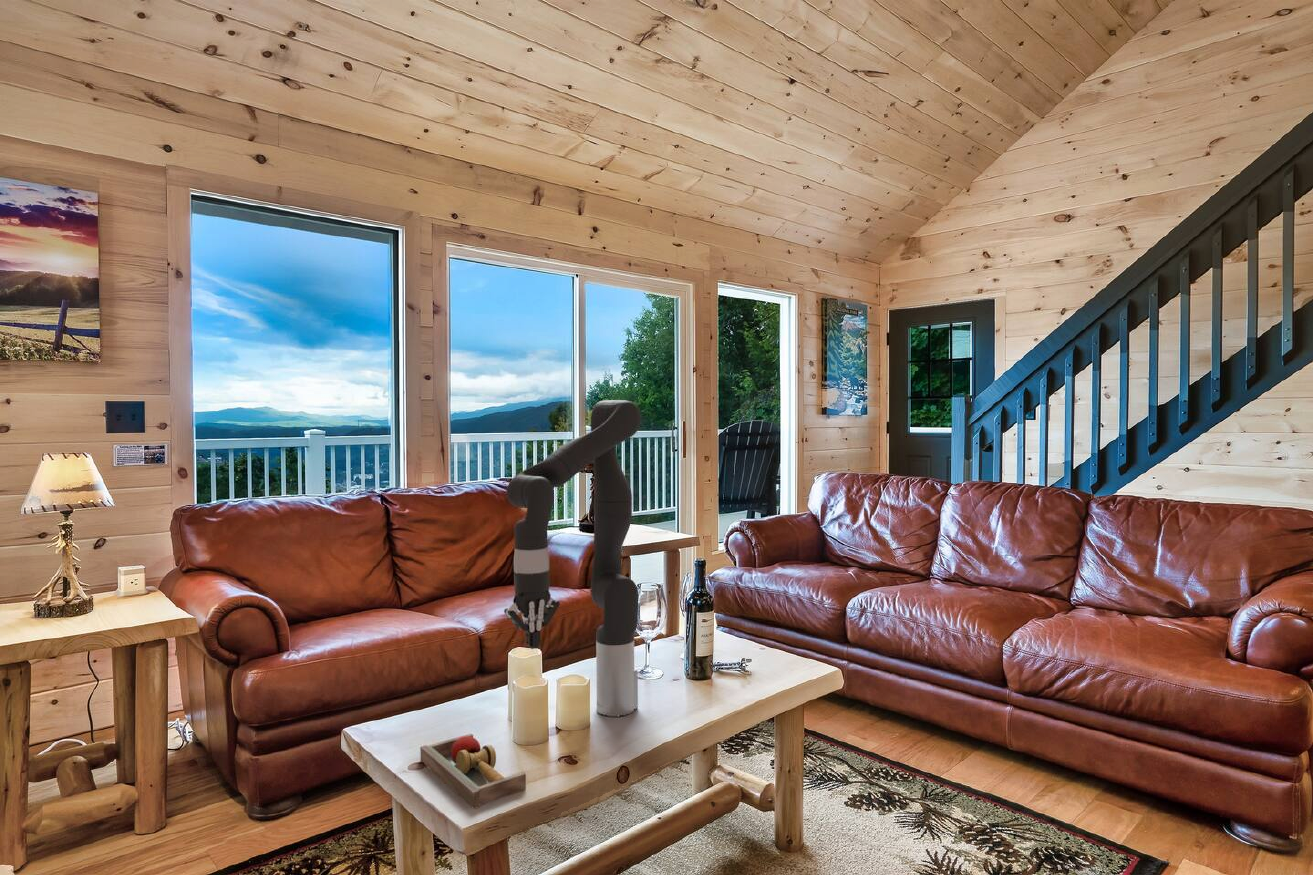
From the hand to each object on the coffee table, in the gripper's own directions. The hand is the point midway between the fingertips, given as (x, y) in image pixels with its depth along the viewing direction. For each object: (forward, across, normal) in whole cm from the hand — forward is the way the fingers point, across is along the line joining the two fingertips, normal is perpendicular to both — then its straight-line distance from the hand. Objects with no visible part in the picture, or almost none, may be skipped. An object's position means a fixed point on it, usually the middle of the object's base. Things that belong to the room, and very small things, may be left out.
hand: (533, 647), depth 170 cm
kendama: (+22, +15, +4) cm, 27 cm away
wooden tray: (+22, +16, +3) cm, 27 cm away
